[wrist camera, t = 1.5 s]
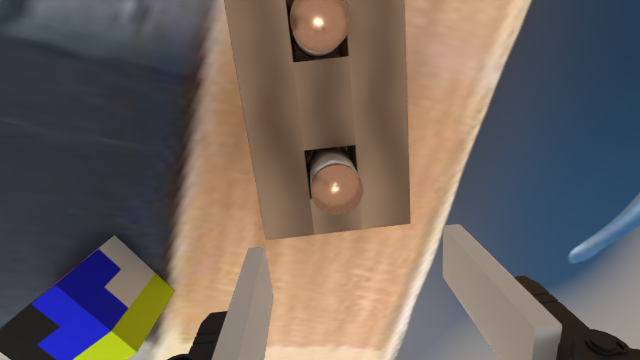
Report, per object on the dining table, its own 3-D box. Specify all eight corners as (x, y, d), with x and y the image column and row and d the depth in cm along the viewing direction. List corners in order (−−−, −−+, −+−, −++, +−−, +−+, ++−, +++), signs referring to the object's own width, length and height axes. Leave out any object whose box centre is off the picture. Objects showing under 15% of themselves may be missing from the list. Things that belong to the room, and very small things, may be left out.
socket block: (273, 208, 40) (265, 240, 32) (236, -20, 32) (215, -49, 25) (390, 195, 40) (410, 223, 32) (380, -36, 33) (402, -69, 25)
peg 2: (312, 186, 33) (313, 217, 26) (307, 147, 32) (308, 168, 25) (352, 182, 33) (364, 211, 26) (349, 142, 32) (361, 162, 25)
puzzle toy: (114, 234, 40) (55, 284, 31) (174, 290, 43) (136, 352, 33) (58, 280, 42) (-15, 341, 32) (119, 331, 44) (68, 401, 35)
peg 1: (297, 59, 30) (294, 54, 23) (290, 9, 28) (285, -12, 21) (341, 54, 30) (353, 48, 23) (337, 4, 29) (348, -19, 21)
